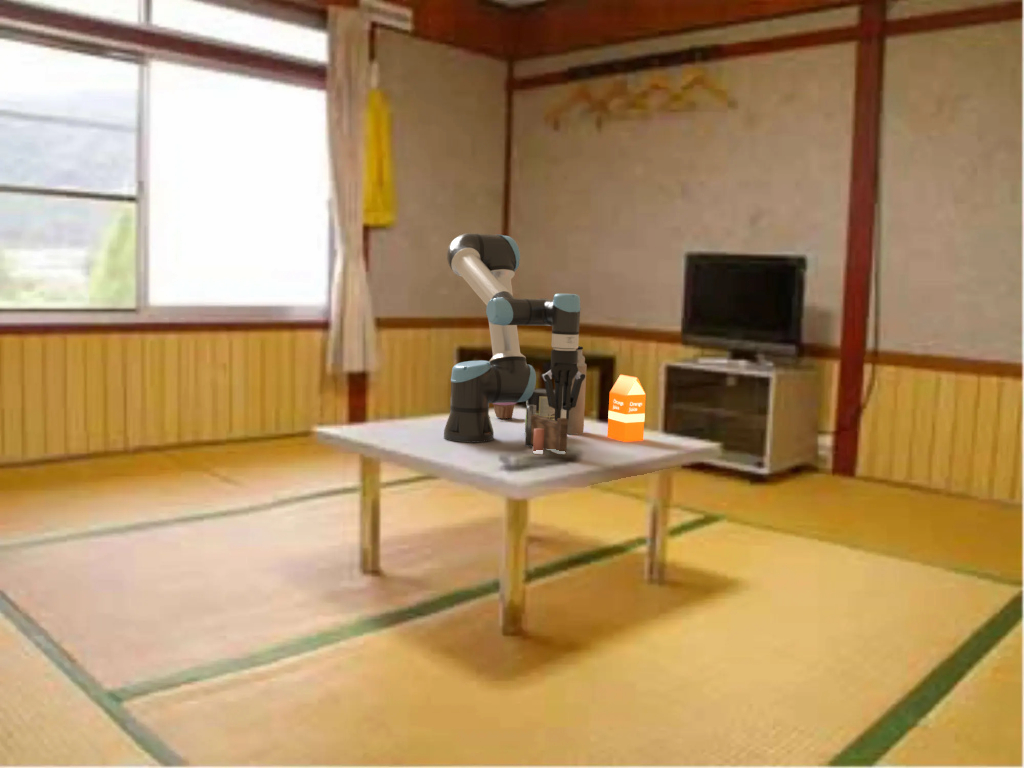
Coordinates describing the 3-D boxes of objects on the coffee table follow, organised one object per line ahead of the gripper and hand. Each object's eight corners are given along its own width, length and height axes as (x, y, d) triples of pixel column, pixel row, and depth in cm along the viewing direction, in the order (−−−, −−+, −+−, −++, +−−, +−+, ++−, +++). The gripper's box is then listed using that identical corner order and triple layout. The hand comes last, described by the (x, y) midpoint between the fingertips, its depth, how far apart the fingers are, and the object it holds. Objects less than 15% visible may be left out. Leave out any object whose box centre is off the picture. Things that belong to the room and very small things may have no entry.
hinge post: (526, 446, 277) (527, 405, 276) (524, 444, 280) (526, 404, 278) (535, 446, 277) (537, 406, 276) (533, 444, 280) (535, 404, 279)
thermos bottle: (559, 429, 309) (563, 344, 306) (583, 430, 309) (587, 345, 305) (558, 433, 301) (562, 346, 298) (583, 434, 301) (587, 347, 297)
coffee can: (521, 435, 294) (523, 391, 293) (528, 430, 304) (530, 387, 303) (553, 438, 292) (555, 393, 291) (559, 433, 302) (561, 389, 300)
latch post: (533, 454, 265) (534, 430, 264) (531, 452, 268) (532, 428, 267) (544, 454, 265) (545, 430, 264) (542, 452, 268) (543, 428, 267)
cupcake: (520, 419, 327) (521, 391, 326) (498, 420, 322) (499, 391, 321) (507, 415, 334) (509, 388, 333) (486, 416, 330) (487, 388, 329)
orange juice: (624, 441, 291) (627, 377, 289) (606, 437, 298) (610, 374, 296) (643, 440, 295) (647, 377, 293) (626, 435, 303) (629, 374, 300)
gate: (529, 443, 276) (531, 409, 275) (536, 443, 277) (537, 409, 276) (559, 455, 260) (560, 419, 259) (566, 454, 261) (567, 419, 260)
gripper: (549, 350, 256) (545, 435, 259) (591, 350, 262) (587, 434, 264) (537, 347, 263) (534, 431, 266) (579, 348, 268) (575, 429, 271)
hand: (560, 432), depth 265 cm, fingers closed
